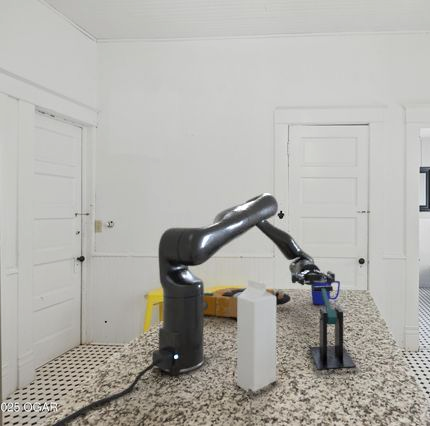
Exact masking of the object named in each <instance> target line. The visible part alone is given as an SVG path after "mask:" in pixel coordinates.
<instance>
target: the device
mask: <svg viewBox="0 0 430 426" xmlns="http://www.w3.org/2000/svg"><path fill="white" fill-rule="evenodd" d="M246 288H247V287H243V288H241V287H226V288H220V289H218V290H215V291H212V292H204V316H217V317H225V318H229V317H231V318H236V319H237V297H238V296H239V295H240V294H241V293H242V292H243V291H244V290H245V289H246ZM266 291H267V292H269V293H270V294H272V295H274V296H276V306H281V305H285V304H287V303H289V302H290V301H291V296H290V294H287V293H286V292H284V291H280V289H275V290H274V289H267V288H266Z"/></svg>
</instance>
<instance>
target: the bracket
mask: <svg viewBox="0 0 430 426" xmlns="http://www.w3.org/2000/svg"><path fill="white" fill-rule="evenodd" d="M334 309H335V312H336V315H337V322H336V324H334V345H328V324H327V312H326V308H325V307H322V306H321V307H319V314H318V321H319V345H317V346H309V350H310V353H311V356H312V358H313V361H314V364H315V366H316V369H317V371H327V370H340V369H341V370H342V369H353V368H355V369H356V368H357V365H356V364H355V362H354V361H353V360H352V358H351V356H350V355H349V353H348V352H347V350H346V349H345V347H344V311H343V310H342V309H341V307H340V306H334Z"/></svg>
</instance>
